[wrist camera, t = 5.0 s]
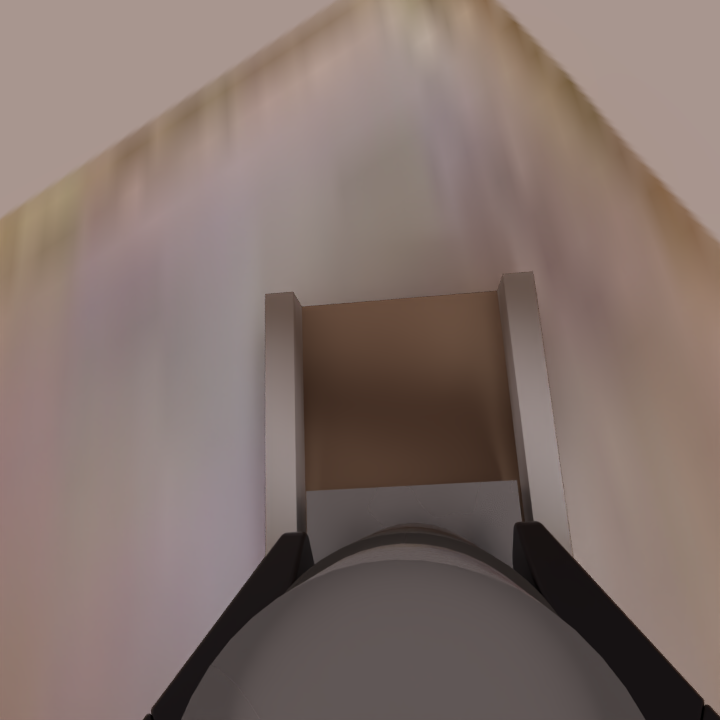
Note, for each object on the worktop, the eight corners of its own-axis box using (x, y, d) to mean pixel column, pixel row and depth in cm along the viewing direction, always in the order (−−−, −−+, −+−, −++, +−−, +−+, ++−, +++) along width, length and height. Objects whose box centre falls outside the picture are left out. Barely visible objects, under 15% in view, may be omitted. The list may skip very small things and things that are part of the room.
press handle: (531, 698, 13) (1015, 1517, 2) (323, 702, 14) (-38, 1411, 3) (506, 483, 15) (751, 405, 4) (318, 493, 15) (57, 446, 4)
